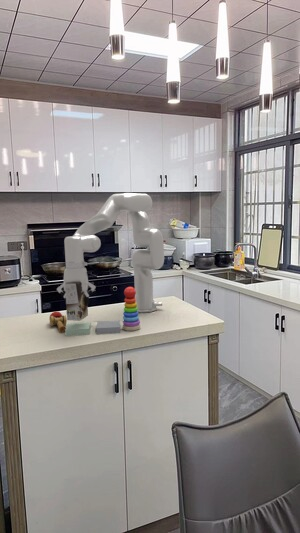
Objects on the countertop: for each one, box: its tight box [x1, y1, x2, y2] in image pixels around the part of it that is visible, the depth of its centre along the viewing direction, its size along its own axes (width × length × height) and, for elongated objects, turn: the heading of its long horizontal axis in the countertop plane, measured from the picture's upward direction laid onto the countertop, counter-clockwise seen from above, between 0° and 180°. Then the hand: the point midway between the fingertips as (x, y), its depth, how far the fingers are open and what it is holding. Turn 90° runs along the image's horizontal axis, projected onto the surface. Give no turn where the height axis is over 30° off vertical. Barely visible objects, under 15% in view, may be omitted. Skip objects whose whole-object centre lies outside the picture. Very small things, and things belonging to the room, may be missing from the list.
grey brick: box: [95, 320, 121, 335], centre depth 164 cm, size 10×10×3 cm
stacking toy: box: [122, 286, 141, 332], centre depth 164 cm, size 8×8×19 cm
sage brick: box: [64, 321, 92, 337], centre depth 163 cm, size 10×10×3 cm
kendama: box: [49, 311, 68, 333], centre depth 171 cm, size 8×6×18 cm
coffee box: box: [65, 282, 89, 322], centre depth 161 cm, size 9×6×16 cm
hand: (77, 305), depth 162 cm, fingers closed on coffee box, 7 cm apart
